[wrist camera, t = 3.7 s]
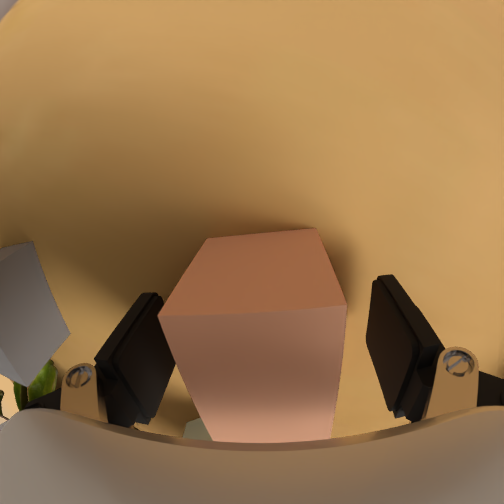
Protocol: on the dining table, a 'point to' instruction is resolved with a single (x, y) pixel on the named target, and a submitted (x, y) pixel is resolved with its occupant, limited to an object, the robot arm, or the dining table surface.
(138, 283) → the dining table surface
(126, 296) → the dining table surface
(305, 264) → the terracotta brick
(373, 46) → the dining table surface
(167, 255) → the dining table surface
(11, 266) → the charcoal brick
